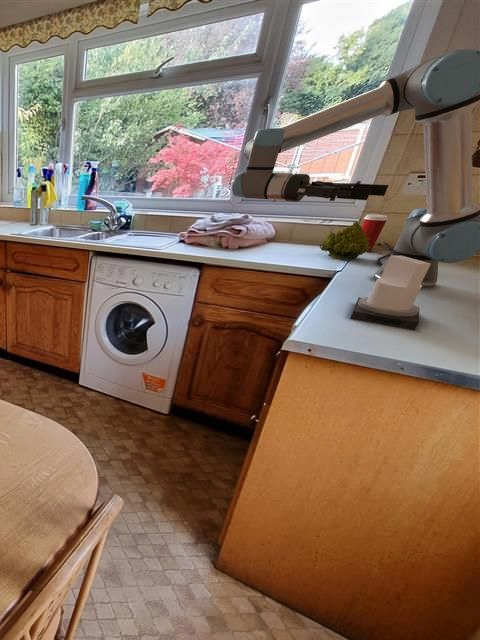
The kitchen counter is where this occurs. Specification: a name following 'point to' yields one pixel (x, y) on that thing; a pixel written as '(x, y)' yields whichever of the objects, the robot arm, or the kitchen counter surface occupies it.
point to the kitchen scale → (386, 315)
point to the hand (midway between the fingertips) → (378, 192)
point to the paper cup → (373, 227)
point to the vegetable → (347, 243)
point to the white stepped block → (398, 283)
